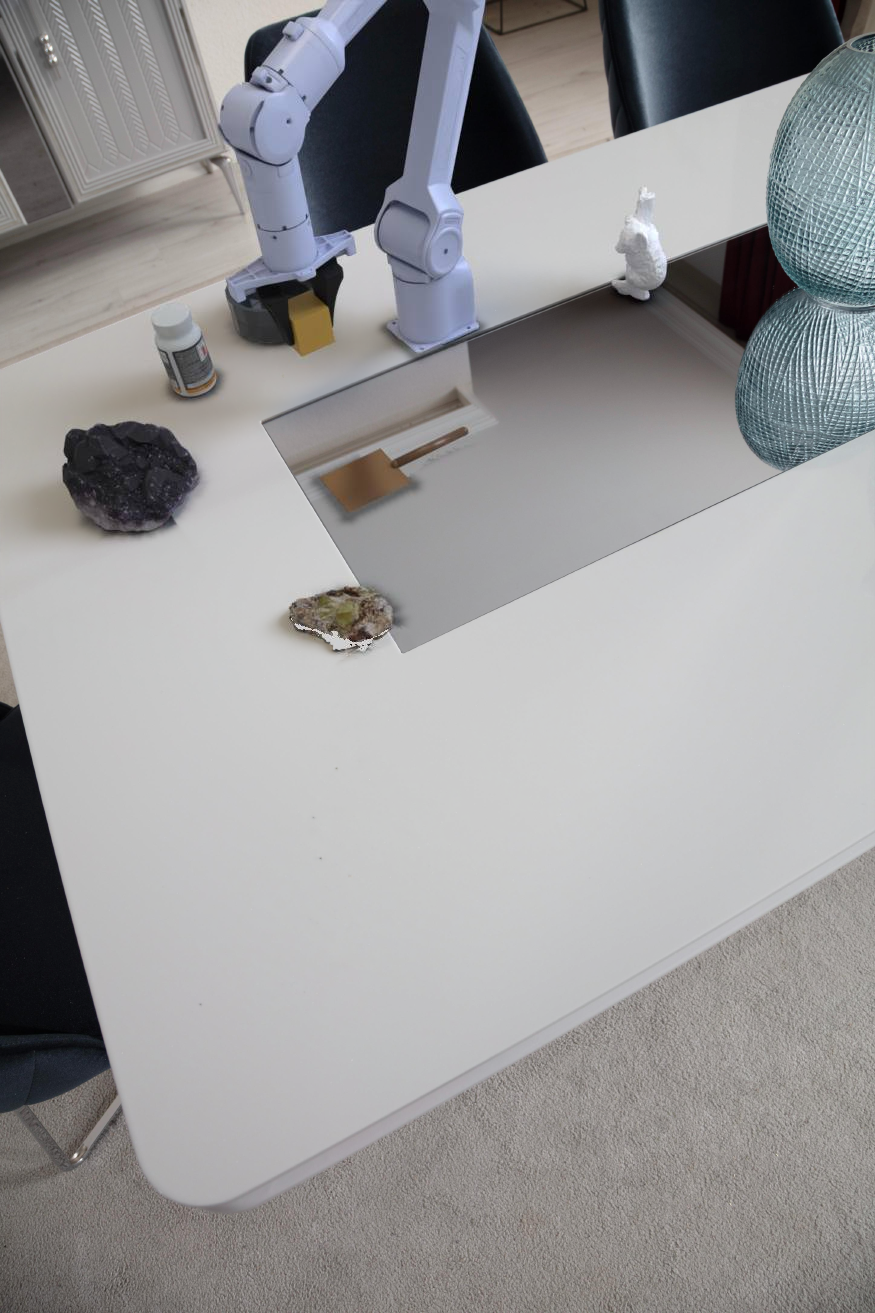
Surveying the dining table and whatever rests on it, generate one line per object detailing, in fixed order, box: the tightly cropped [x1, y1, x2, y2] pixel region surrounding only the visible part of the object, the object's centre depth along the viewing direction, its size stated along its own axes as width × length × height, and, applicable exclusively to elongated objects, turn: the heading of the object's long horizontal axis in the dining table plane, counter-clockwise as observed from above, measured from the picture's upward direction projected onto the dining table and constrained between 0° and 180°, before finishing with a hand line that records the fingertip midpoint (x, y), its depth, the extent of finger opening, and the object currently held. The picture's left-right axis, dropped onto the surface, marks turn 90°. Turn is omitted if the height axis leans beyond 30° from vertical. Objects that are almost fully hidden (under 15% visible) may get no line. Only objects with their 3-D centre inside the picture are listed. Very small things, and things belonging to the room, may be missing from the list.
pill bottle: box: [150, 302, 217, 398], centre depth 112 cm, size 6×6×10 cm
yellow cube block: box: [288, 291, 336, 357], centre depth 104 cm, size 4×4×4 cm
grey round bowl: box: [224, 267, 314, 344], centre depth 122 cm, size 12×12×5 cm
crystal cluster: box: [61, 420, 200, 533], centre depth 102 cm, size 13×14×10 cm
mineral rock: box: [288, 584, 395, 649], centre depth 90 cm, size 11×4×8 cm
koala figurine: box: [611, 186, 668, 301], centre depth 116 cm, size 8×7×12 cm
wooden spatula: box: [318, 426, 469, 514], centre depth 104 cm, size 18×7×1 cm, turn 122°
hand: (307, 332), depth 105 cm, fingers closed on yellow cube block, 4 cm apart
